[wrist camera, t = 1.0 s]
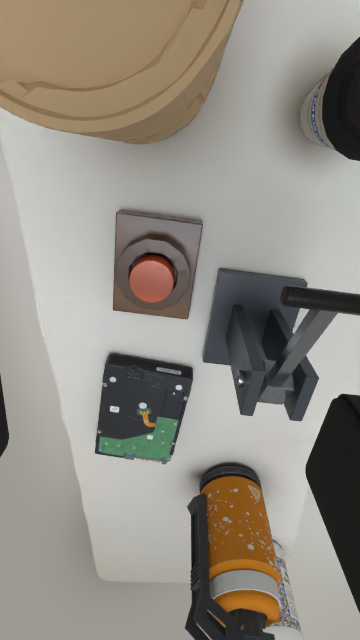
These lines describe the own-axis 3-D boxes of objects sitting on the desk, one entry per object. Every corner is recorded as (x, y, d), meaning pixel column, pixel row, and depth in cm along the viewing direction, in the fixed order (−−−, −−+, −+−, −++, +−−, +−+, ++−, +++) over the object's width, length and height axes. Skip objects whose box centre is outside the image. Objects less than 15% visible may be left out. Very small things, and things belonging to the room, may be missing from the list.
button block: (119, 209, 31) (111, 216, 28) (202, 220, 31) (203, 228, 28) (115, 303, 36) (109, 318, 33) (188, 312, 36) (188, 327, 33)
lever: (284, 273, 19) (290, 304, 17) (376, 285, 19) (389, 316, 18) (235, 374, 28) (236, 399, 27) (297, 381, 28) (301, 407, 27)
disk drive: (108, 350, 39) (99, 439, 45) (102, 363, 36) (93, 455, 43) (193, 364, 39) (172, 450, 46) (193, 378, 37) (171, 467, 43)
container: (76, 149, 29) (-63, 145, 13) (39, -50, 23) (-299, -514, 7) (218, 138, 28) (260, 119, 12) (216, -69, 22) (290, -625, 6)
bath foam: (265, 533, 55) (302, 717, 37) (289, 550, 57) (335, 731, 39) (233, 548, 57) (253, 728, 39) (257, 564, 59) (287, 742, 41)
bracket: (219, 268, 34) (235, 327, 22) (304, 279, 34) (363, 343, 22) (202, 356, 39) (208, 441, 27) (276, 365, 39) (313, 453, 28)
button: (133, 251, 30) (130, 257, 28) (176, 257, 30) (176, 263, 28) (131, 291, 32) (127, 300, 30) (172, 296, 32) (171, 305, 30)
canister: (242, 506, 51) (270, 693, 34) (177, 488, 50) (171, 675, 32) (270, 471, 48) (319, 662, 30) (201, 450, 46) (209, 639, 28)
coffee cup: (381, 60, 25) (484, 11, 17) (358, 159, 29) (435, 162, 20) (292, 60, 26) (347, 11, 17) (279, 159, 29) (319, 162, 20)
